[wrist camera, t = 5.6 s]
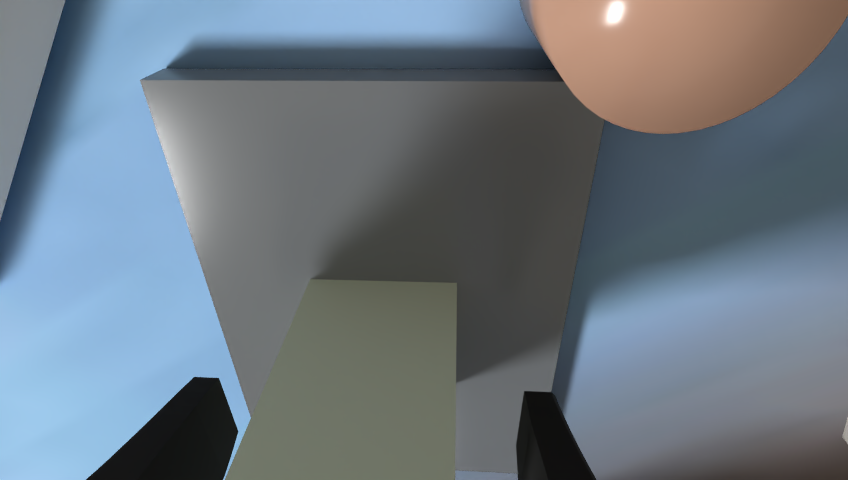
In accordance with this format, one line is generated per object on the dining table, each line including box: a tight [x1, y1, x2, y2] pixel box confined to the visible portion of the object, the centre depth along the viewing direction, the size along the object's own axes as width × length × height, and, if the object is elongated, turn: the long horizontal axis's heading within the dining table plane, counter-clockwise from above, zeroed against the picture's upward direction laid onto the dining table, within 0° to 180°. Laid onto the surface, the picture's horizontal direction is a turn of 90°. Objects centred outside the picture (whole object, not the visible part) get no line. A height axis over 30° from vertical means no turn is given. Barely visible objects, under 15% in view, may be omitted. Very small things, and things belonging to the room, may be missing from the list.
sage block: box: [225, 279, 457, 480], centre depth 12 cm, size 4×4×6 cm
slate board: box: [140, 69, 605, 474], centre depth 14 cm, size 14×10×1 cm
